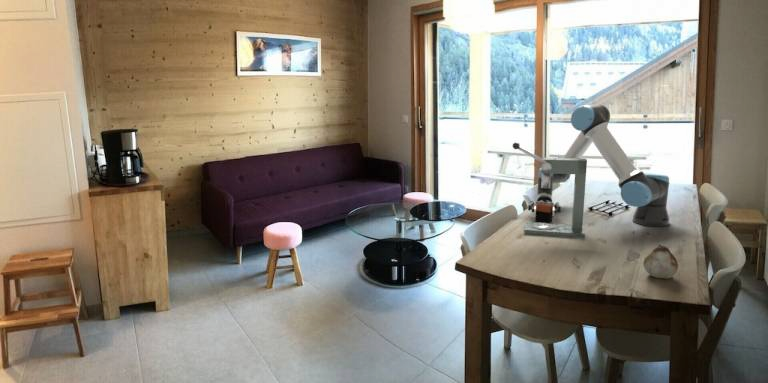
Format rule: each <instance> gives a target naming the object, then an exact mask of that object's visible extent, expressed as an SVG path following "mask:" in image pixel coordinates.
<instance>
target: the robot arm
mask: <svg viewBox="0 0 768 383" xmlns="http://www.w3.org/2000/svg"><path fill="white" fill-rule="evenodd" d="M570 116H571V117H570V123H571V126H572V127H573V128H574V129H575V130H577V131H579V134H578V135H577V136H576V138H575V140H574V141H573V143H572V144H571V146H569V148H568V150H567V151H566V153H565V154H564V156H563V157H562V158H581V159H582V157H583V156H584V154H585V153H586V151H587V150H589V147H590V146H591V145H592V143H593V144H594V145H595V147H596V149H597V150H598V151H599V153H600V154H601V157H603V159H604V161H605V162H606V163H607V165H608V166H609V168H610V169H611V171H612V172H613V174H614V175H615V176H616V178H617V179H618V184H617V186H618V187H619V189H620V197H621V200H622V201H623V202H624V203H625V204H626V205H628V206H631V207H636V209H635V211H634V213H633V215H632V222H633V223H636V224H639V225H643V226H648V227H649V226H650V227H665V226H668V225H669V224H670V216H669V214H668V209H667V203H668V194H669V186H670V177H669V176H668V175H664V174H660V173H659V174H656V173H646V172H644V171H642V170H638V169H637V168H636V167H635V165H634V164H633V162H632V161H631V160H630V158H629V157H628V155H627V154H626V152H625V151H624V149H623V148H622V147H621V145H620V144H619V143H618V142H617V140H616V138H615V136H614V135H613V134H612V133H611V131H610V130H609V129H608V125H609V123H610V120H611V113H610V110H609V109H608V107H607V106H605V105H604V104H599V103H596V104H595V103H594V104H583V105H580V106H577V107H576V108H574V110H573V112H572V113H571V115H570ZM570 178H571V174H551V176H550V188H548V189H545V188H541V184H542V167H540V168H539V169H538V173H537V194H536V201H533V200H530V203H528V208H527V211H531V213H533V215H534V216H536V204H537V203H539V201H544V202H543V203H547V202H549V203H550V204H553V213H552V217H555V214H557V213H561V210H562V209H561V208H562V206H561V205H560V203H559V202H558V201H557V202H553V191H554V190H553V186H554V185H556V184H561V183H564V182H567V181H568V180H570Z"/></svg>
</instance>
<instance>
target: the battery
mask: <svg viewBox="0 0 768 383" xmlns="http://www.w3.org/2000/svg"><path fill="white" fill-rule="evenodd" d="M543 202H544V201H539V203H537V204H536V215H535V218H534V220H535V221H534V222H542V223H553V214H552V213H553V204H554V203H553V204H550V203H549V202H547V203H543Z"/></svg>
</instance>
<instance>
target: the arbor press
mask: <svg viewBox="0 0 768 383" xmlns="http://www.w3.org/2000/svg"><path fill="white" fill-rule="evenodd" d="M512 148H513V149H514V150H518V151H521V152H522V153H524V154H525V155H527V156H529V157H530V158H532V159H534V160H536V161H538V162H540V163H541V168H542V184H541V188H545V189H548V188H550V176H551V174H570V175H574V185H573V186H574V187H573V199H572V200H573V201H572V216H571V217H572V218H571V223H555V222H554V223H553V222H551V223H542V222H536V221H525V224H524V229H523V230H524V231H523V233H524V235H529V234H530V235H531V236H543V237H544V236H545V237H546V236H547V237H559V238H570V239H586V232H585V226H584V224H583V223H584V213H585V212H584V211H585V209H584V208H585V196H586V195H585V194H586V180H587V167H588V166H587V164H588V159H587V158H582V157H581V158H563V157H540V156H538V155H537V154H534V153H533V152H531V151H530V150H528V149H527V148H525V147H523V146H521V145H520V143H519V142H517V141H515V142H514V143H512Z"/></svg>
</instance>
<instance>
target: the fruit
mask: <svg viewBox="0 0 768 383" xmlns="http://www.w3.org/2000/svg"><path fill="white" fill-rule="evenodd" d="M643 268H644V270H645V271H646V273H647V274H648V275H649V276H652V277H653V278H657V279H670V278H672V277H673V276H675V275H676V273H677V271H678V268H679V263H678V260H677V258H676V256H675V255H674V254H673V253H672V252H671V251H670V249H669V248H668V247H666V246H664V245H661V244H659V245H658V246H656V247H655V248H653V249H652V251H651V252H650V253H648V254H647V255H646V256H645V258H644V259H643Z"/></svg>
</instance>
